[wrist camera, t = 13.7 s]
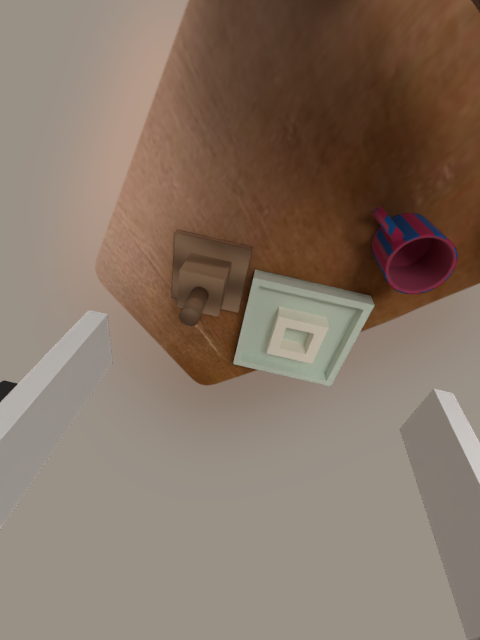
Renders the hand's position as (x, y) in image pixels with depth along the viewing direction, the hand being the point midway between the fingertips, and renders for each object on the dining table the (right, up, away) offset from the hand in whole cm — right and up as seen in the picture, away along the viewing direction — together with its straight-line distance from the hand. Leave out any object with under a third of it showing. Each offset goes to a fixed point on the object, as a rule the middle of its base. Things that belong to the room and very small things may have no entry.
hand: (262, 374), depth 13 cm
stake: (-5, +9, +30) cm, 32 cm away
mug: (+17, +13, +24) cm, 32 cm away
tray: (+8, +1, +34) cm, 35 cm away
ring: (+7, +1, +33) cm, 34 cm away
